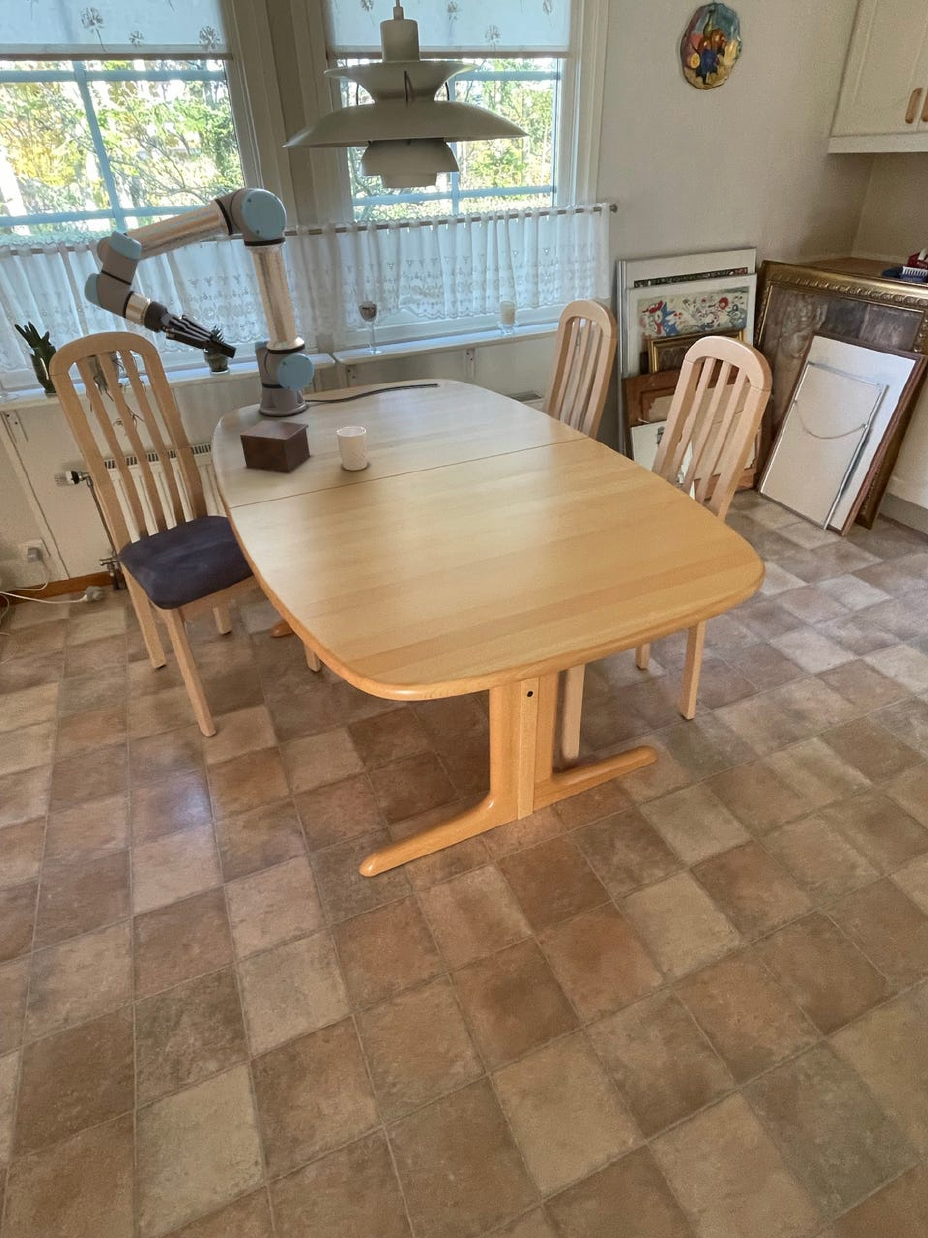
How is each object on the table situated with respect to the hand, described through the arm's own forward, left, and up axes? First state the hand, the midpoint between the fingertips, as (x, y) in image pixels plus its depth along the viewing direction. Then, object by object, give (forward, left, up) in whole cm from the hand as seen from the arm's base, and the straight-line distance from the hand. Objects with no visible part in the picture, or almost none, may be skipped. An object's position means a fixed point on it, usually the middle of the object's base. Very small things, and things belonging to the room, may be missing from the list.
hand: (234, 353), depth 193 cm
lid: (-4, +16, -18) cm, 25 cm away
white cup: (-22, +30, -27) cm, 46 cm away
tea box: (-4, +16, -27) cm, 31 cm away
